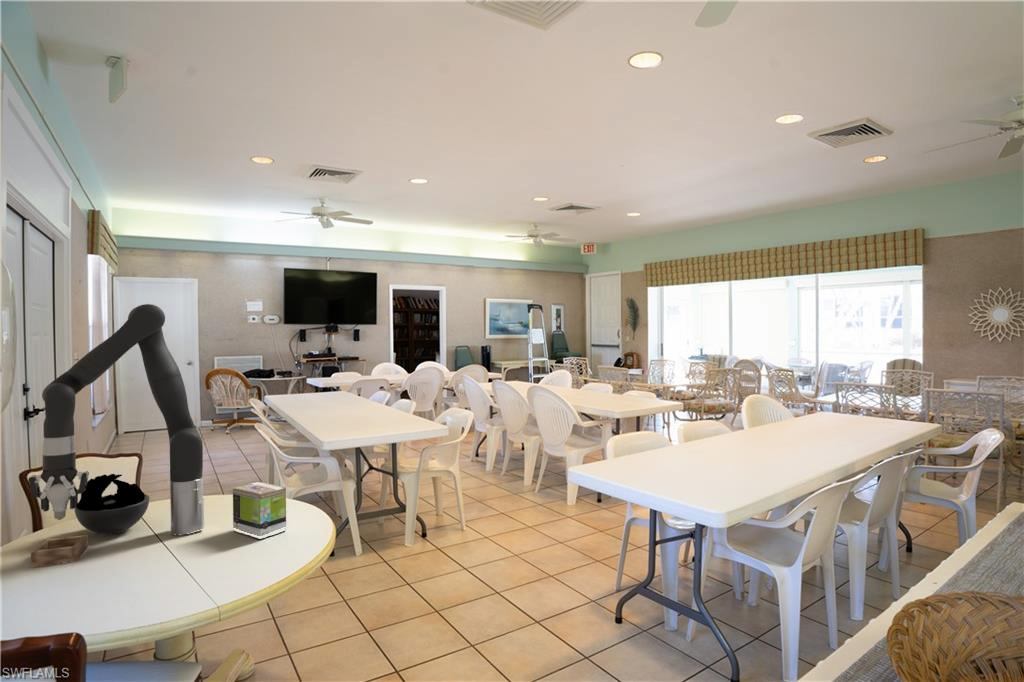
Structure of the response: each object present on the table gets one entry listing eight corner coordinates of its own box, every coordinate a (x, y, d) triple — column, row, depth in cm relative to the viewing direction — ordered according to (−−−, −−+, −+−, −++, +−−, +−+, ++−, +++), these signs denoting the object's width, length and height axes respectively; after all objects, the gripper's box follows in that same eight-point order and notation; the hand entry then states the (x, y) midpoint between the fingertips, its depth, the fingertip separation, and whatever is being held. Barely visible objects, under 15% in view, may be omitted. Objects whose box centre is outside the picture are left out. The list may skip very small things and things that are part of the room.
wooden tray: (89, 547, 172) (88, 534, 172) (77, 561, 162) (77, 547, 162) (44, 553, 168) (44, 539, 168) (29, 567, 158) (29, 553, 158)
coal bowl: (89, 525, 192) (88, 470, 191) (157, 519, 198) (156, 465, 198) (63, 547, 173) (62, 485, 172) (139, 539, 179) (138, 480, 178)
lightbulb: (55, 524, 161) (55, 485, 161) (41, 521, 163) (41, 483, 163) (78, 517, 167) (78, 480, 167) (64, 515, 169) (63, 478, 169)
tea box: (287, 531, 186) (287, 486, 186) (259, 541, 177) (259, 494, 177) (259, 523, 194) (259, 480, 194) (231, 532, 186) (231, 487, 185)
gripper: (22, 456, 158) (23, 516, 159) (85, 452, 164) (85, 510, 164) (33, 451, 165) (33, 508, 166) (92, 447, 171) (93, 503, 171)
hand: (59, 509), depth 165 cm, fingers closed on lightbulb, 5 cm apart
